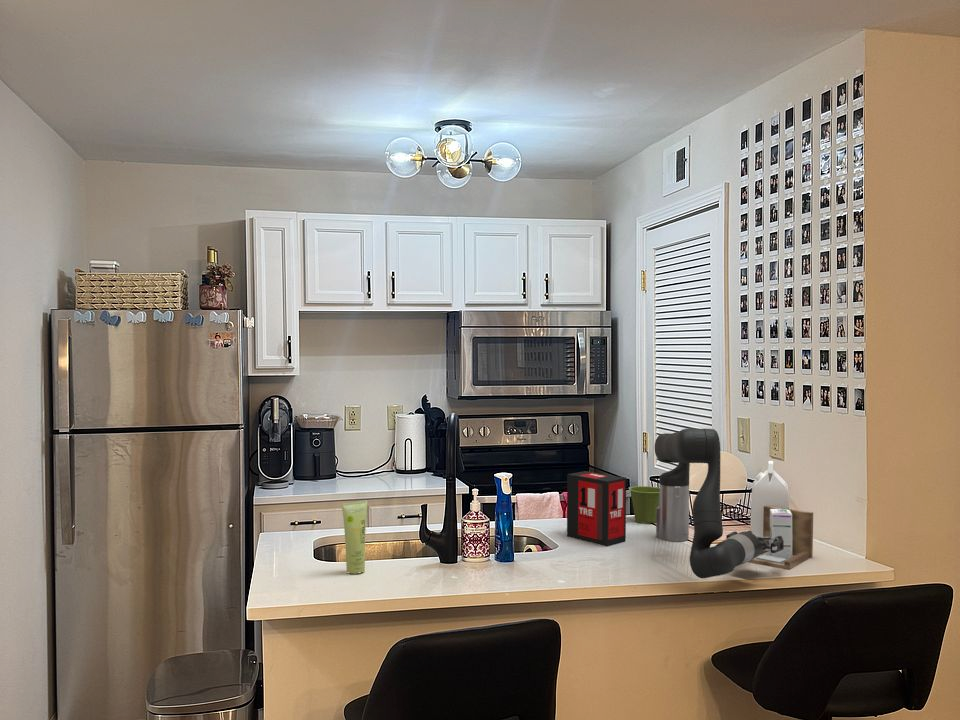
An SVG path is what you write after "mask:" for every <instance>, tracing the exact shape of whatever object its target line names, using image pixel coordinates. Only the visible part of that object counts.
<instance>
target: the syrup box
mask: <svg viewBox="0 0 960 720" xmlns="http://www.w3.org/2000/svg"><path fill="white" fill-rule="evenodd" d="M777 536H782V538H783V540H784V549H783V550H781V551H779V552H776V553H771V550H770V551H769V556H774V557H779V558H784V559H787V560H788V559H790V558H792V557H793V555H792V513H791V511H790V510H788V509H770V538H775V537H777ZM771 542H773V541H771Z"/></svg>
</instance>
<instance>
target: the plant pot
mask: <svg viewBox="0 0 960 720" xmlns="http://www.w3.org/2000/svg"><path fill="white" fill-rule="evenodd" d="M628 490H629V492H630V495H631V500H632V506H633V508H632V509H633V512H634V514H633V515H634V519H635V520H634V521H635V522H637V523H639V524H647V525H649V524H651V523H652V524H655V523H656V509H657V507H659V487H656V486H646V485H640V486H639V485H637V486H630V487H629V488H628Z"/></svg>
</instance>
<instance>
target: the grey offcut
mask: <svg viewBox="0 0 960 720" xmlns="http://www.w3.org/2000/svg"><path fill="white" fill-rule="evenodd" d="M755 559H759V560H765V561H770V562H775V563H780V564H784V561H786V560H787V559H784V558H779V557H774V556H770V554H769V555H767V554H761V555H759V556H757V557H756V558H755Z"/></svg>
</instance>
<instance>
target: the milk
mask: <svg viewBox="0 0 960 720" xmlns="http://www.w3.org/2000/svg"><path fill="white" fill-rule="evenodd" d="M751 484H752V485H751V501H750V502H751V503H750V504H751V507H750V524H749V525H750V528H749V531H752V534H754V535H755V536H759V537H763V516H764V506H772V507H779V508H785V509H790V500H789V498H790V497H789V484H788V482H786V481H785V480H784V478H783V477H782V476H780V474H778V473H777V471H776V470H774V460H768V463H767V469H766V470H765V471H764V472H762V471H760V472H759V473H758V474H757V475H756V476H755V477H754V481H752V483H751Z"/></svg>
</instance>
